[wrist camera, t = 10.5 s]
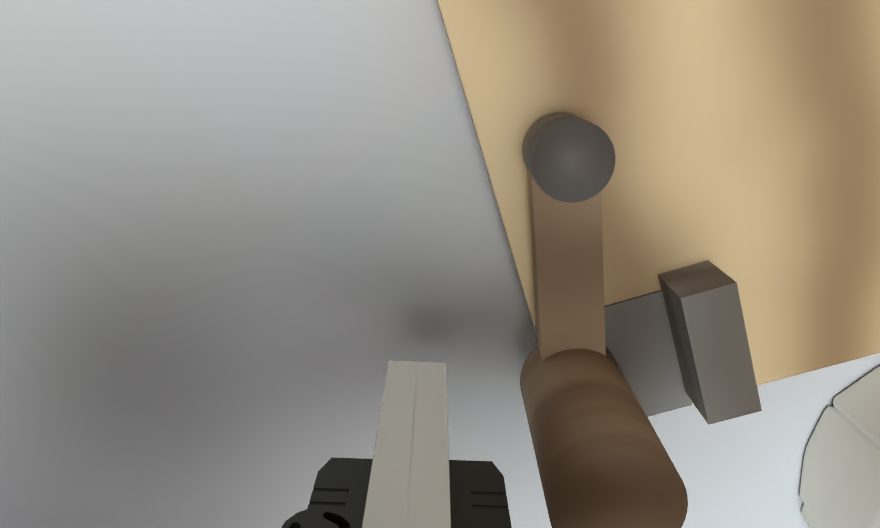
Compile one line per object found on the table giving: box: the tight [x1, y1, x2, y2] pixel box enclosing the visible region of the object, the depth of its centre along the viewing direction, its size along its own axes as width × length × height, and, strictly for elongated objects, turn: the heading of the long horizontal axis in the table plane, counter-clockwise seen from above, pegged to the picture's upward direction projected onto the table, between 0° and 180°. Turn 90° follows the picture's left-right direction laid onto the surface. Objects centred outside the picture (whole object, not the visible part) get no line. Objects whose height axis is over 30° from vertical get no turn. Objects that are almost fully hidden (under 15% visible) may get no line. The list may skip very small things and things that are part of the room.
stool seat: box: [437, 0, 880, 424], centre depth 16 cm, size 18×18×9 cm
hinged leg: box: [520, 112, 688, 528], centre depth 16 cm, size 10×3×6 cm, turn 6°
